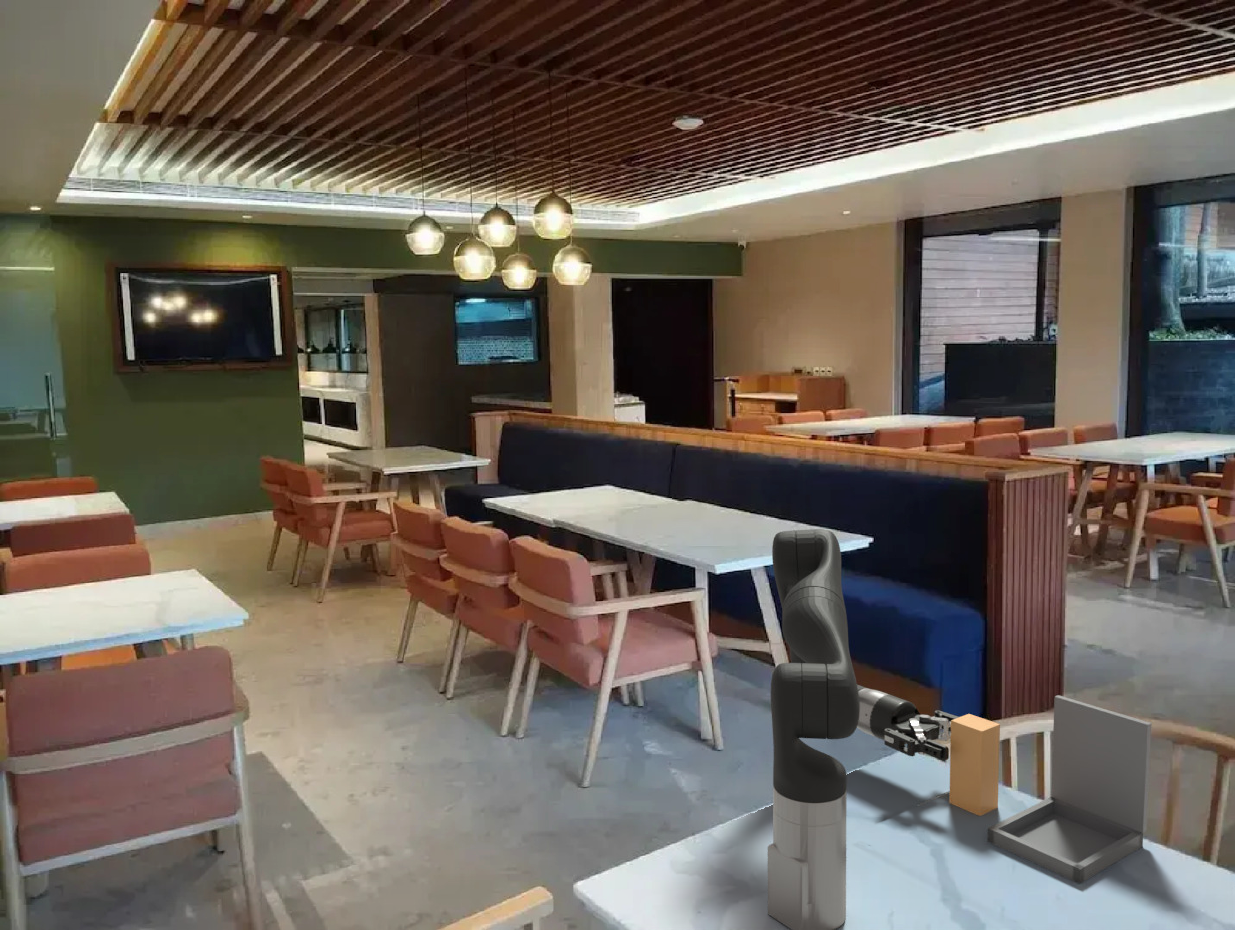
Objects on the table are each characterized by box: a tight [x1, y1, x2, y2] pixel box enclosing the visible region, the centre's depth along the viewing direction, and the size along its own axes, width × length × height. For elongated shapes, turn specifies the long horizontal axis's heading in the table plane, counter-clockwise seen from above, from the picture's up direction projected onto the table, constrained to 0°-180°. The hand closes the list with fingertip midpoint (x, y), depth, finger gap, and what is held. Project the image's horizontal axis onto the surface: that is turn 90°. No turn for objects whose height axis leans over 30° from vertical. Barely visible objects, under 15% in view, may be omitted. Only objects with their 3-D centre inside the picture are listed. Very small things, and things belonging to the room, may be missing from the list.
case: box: [987, 694, 1153, 884], centre depth 141 cm, size 17×14×19 cm
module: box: [949, 713, 1001, 817], centre depth 153 cm, size 4×6×14 cm
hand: (964, 747), depth 155 cm, fingers open, 8 cm apart
